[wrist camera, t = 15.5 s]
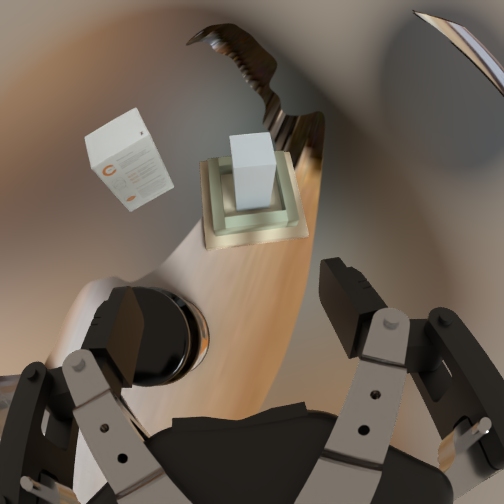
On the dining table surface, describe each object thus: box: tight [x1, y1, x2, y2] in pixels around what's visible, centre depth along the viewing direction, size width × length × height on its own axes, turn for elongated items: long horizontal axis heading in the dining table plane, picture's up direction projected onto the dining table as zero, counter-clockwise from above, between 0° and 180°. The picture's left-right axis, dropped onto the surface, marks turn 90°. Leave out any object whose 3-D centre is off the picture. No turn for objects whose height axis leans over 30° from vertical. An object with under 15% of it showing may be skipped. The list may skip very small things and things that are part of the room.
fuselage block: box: [230, 132, 277, 212], centre depth 34 cm, size 4×4×11 cm
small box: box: [85, 108, 174, 212], centre depth 34 cm, size 8×6×13 cm
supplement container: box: [132, 287, 210, 387], centre depth 29 cm, size 10×10×12 cm
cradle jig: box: [200, 151, 309, 251], centre depth 38 cm, size 14×14×4 cm
